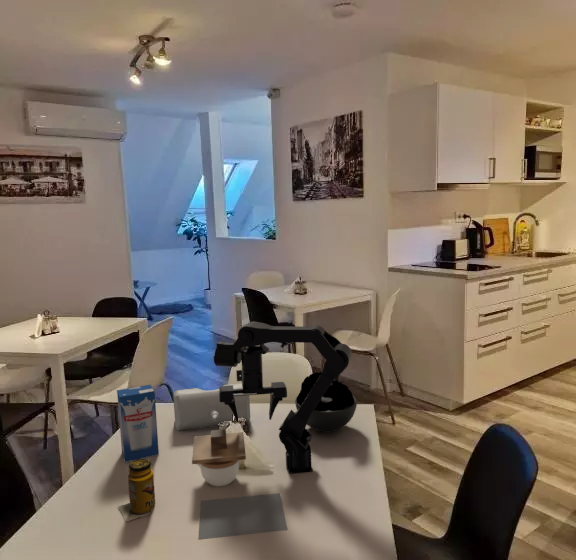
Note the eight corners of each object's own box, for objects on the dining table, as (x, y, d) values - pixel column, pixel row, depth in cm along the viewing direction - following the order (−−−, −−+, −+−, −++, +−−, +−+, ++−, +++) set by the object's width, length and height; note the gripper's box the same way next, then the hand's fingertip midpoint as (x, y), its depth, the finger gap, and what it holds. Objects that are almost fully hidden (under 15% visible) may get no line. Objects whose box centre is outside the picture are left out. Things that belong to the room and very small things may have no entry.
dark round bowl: (296, 416, 179) (295, 364, 176) (354, 416, 178) (353, 363, 175) (295, 443, 159) (293, 385, 156) (360, 443, 158) (359, 384, 155)
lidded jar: (208, 497, 131) (206, 463, 130) (195, 477, 140) (193, 445, 139) (246, 485, 136) (245, 452, 134) (232, 467, 145) (230, 436, 144)
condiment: (161, 510, 126) (157, 464, 124) (126, 522, 122) (122, 475, 120) (151, 496, 132) (148, 452, 130) (117, 507, 128) (114, 462, 126)
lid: (243, 435, 144) (242, 420, 143) (245, 459, 131) (245, 442, 130) (194, 439, 142) (193, 424, 142) (192, 464, 129) (191, 447, 128)
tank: (176, 440, 163) (174, 403, 161) (174, 420, 178) (172, 386, 176) (254, 430, 169) (252, 394, 167) (245, 411, 184) (244, 378, 182)
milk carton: (155, 445, 160) (150, 384, 157) (159, 454, 154) (154, 390, 151) (121, 453, 155) (116, 390, 152) (124, 462, 150) (119, 397, 147)
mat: (279, 494, 131) (279, 492, 131) (287, 531, 117) (287, 529, 116) (200, 502, 129) (200, 500, 129) (198, 541, 114) (198, 539, 114)
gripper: (281, 356, 152) (283, 407, 154) (218, 361, 150) (220, 411, 152) (286, 368, 141) (288, 422, 143) (218, 373, 139) (220, 427, 141)
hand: (254, 420), depth 145 cm, fingers open, 9 cm apart
